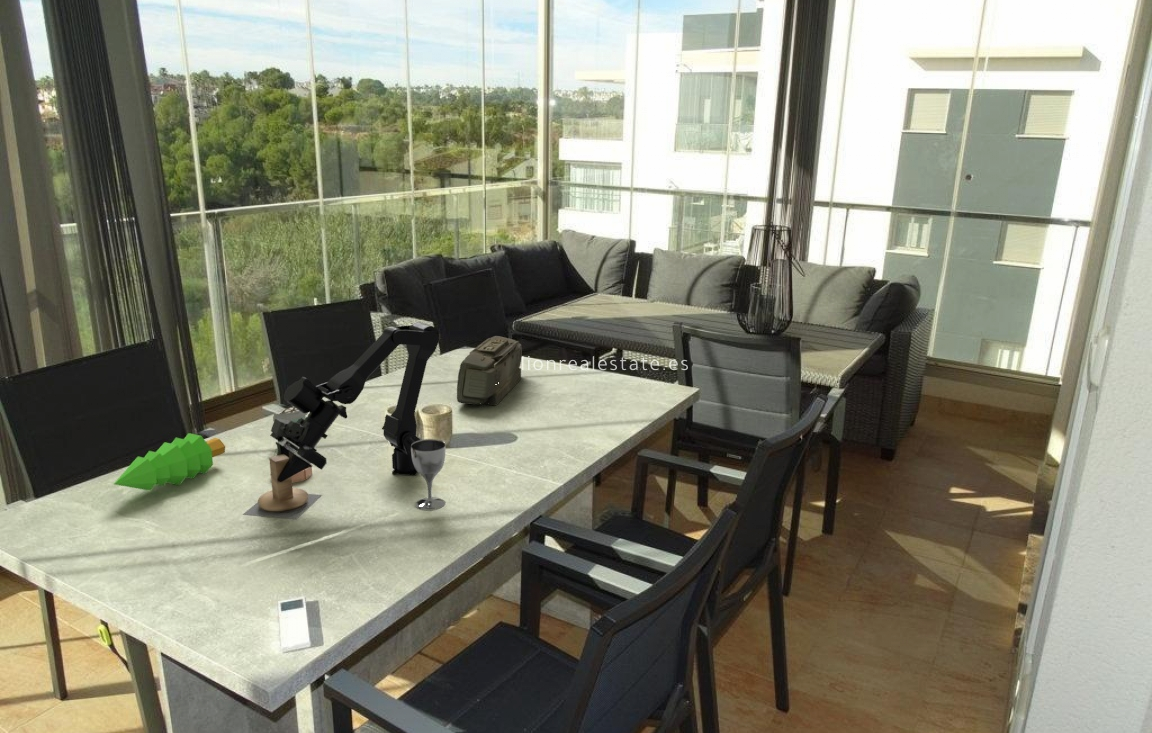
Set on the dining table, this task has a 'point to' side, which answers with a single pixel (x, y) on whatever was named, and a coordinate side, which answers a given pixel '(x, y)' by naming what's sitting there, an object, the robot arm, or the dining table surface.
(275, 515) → the rubber mat
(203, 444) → the decorative tree
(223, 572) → the dining table surface
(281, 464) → the walnut lid
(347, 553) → the dining table surface
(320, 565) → the dining table surface
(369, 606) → the dining table surface
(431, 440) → the wine glass
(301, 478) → the terracotta bowl
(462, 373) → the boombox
